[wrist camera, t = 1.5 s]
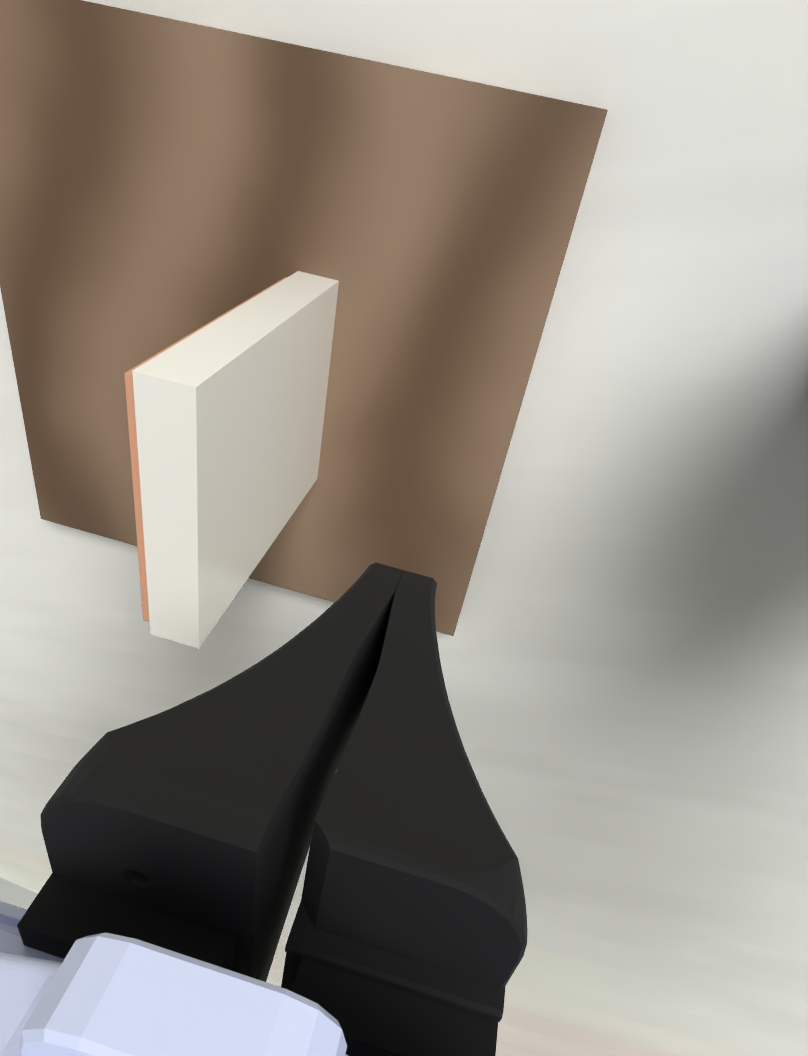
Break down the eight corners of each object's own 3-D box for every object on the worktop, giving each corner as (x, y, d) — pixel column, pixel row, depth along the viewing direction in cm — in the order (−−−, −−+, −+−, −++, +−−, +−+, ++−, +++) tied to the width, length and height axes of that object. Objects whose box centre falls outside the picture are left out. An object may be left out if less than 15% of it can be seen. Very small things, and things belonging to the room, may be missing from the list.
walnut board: (606, 109, 17) (607, 109, 16) (457, 619, 27) (453, 636, 26) (-27, -23, 19) (-55, -28, 18) (56, 506, 29) (41, 518, 28)
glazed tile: (339, 280, 20) (196, 387, 12) (317, 478, 24) (199, 648, 16) (288, 268, 20) (117, 366, 13) (275, 467, 24) (138, 631, 17)
